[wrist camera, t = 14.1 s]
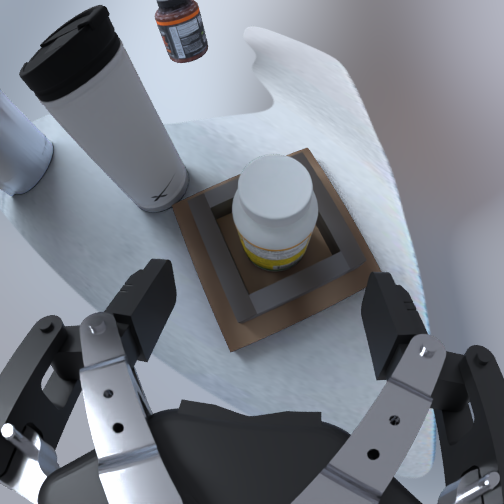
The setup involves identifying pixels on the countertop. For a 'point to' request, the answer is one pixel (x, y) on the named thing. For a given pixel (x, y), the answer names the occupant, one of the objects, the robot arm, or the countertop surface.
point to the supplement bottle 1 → (181, 29)
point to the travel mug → (107, 109)
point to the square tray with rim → (267, 282)
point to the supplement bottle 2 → (275, 211)
